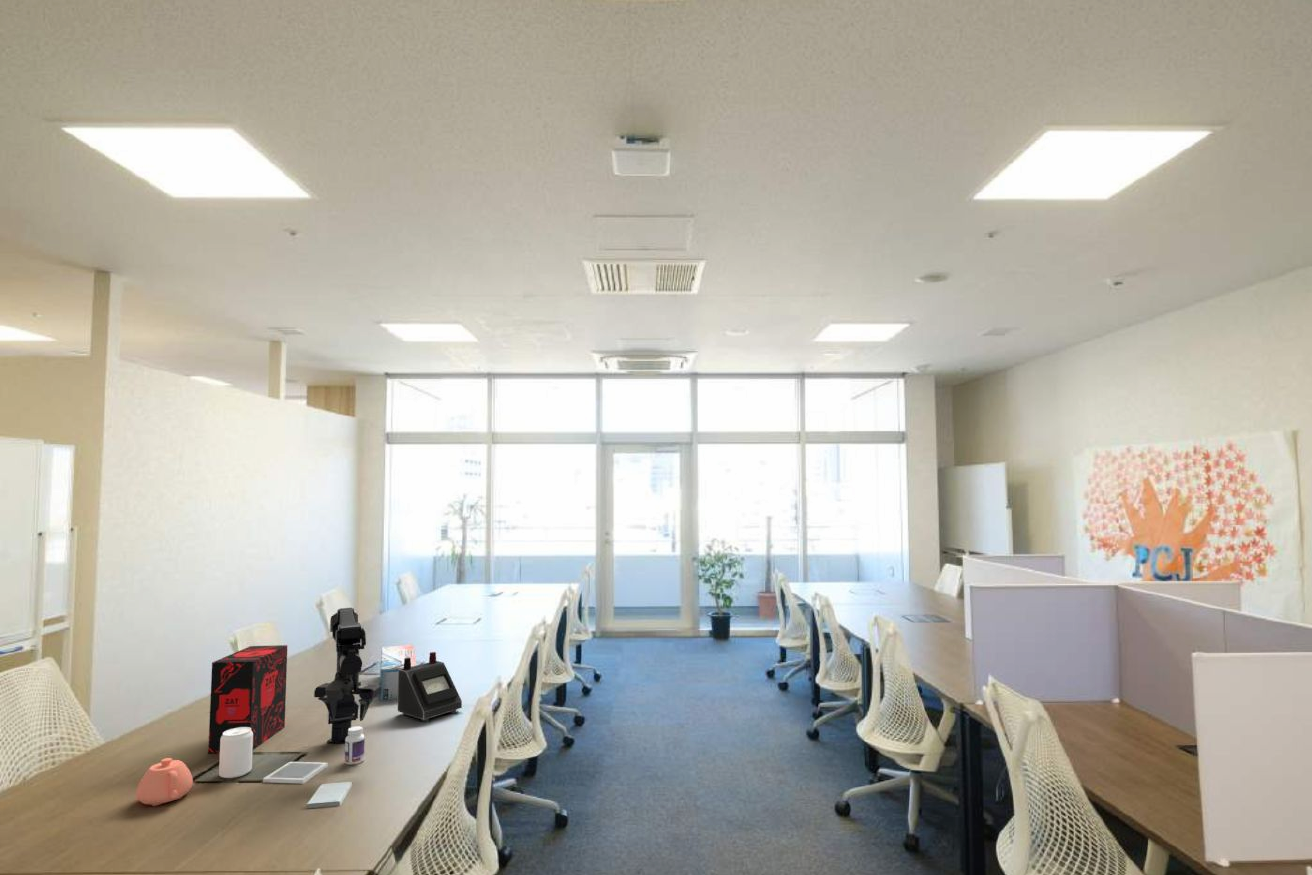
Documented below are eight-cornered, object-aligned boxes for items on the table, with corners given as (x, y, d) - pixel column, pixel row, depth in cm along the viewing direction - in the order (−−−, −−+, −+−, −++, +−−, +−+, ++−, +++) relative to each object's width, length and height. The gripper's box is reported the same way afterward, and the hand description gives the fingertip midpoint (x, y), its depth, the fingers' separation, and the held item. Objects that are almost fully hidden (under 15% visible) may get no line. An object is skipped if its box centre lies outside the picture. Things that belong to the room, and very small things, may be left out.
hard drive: (340, 801, 176) (352, 780, 188) (306, 803, 174) (320, 783, 187) (340, 807, 176) (352, 787, 188) (306, 810, 174) (320, 789, 187)
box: (249, 752, 213) (252, 661, 215) (208, 754, 212) (212, 662, 214) (284, 727, 236) (287, 645, 238) (247, 728, 235) (250, 645, 237)
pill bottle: (367, 757, 207) (367, 725, 208) (359, 764, 202) (360, 731, 203) (349, 758, 207) (349, 725, 208) (341, 765, 202) (342, 731, 203)
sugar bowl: (183, 784, 189) (185, 747, 190) (201, 798, 180) (202, 759, 181) (129, 800, 180) (131, 760, 181) (145, 816, 171) (147, 774, 172)
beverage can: (214, 781, 191) (216, 737, 192) (224, 769, 199) (226, 727, 200) (246, 777, 194) (248, 734, 195) (255, 766, 201) (256, 725, 202)
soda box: (380, 676, 302) (380, 646, 303) (413, 672, 307) (413, 643, 308) (379, 702, 264) (379, 668, 265) (417, 697, 269) (417, 664, 270)
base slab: (289, 765, 202) (289, 761, 202) (327, 766, 201) (328, 762, 201) (262, 782, 190) (263, 778, 190) (303, 783, 189) (303, 779, 189)
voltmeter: (423, 724, 238) (424, 665, 239) (397, 715, 248) (398, 659, 249) (462, 711, 250) (462, 656, 252) (435, 703, 260) (436, 650, 262)
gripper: (303, 673, 199) (301, 728, 198) (362, 675, 196) (361, 730, 195) (326, 663, 210) (324, 715, 209) (382, 665, 207) (381, 717, 206)
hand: (347, 719), depth 204 cm, fingers open, 9 cm apart
